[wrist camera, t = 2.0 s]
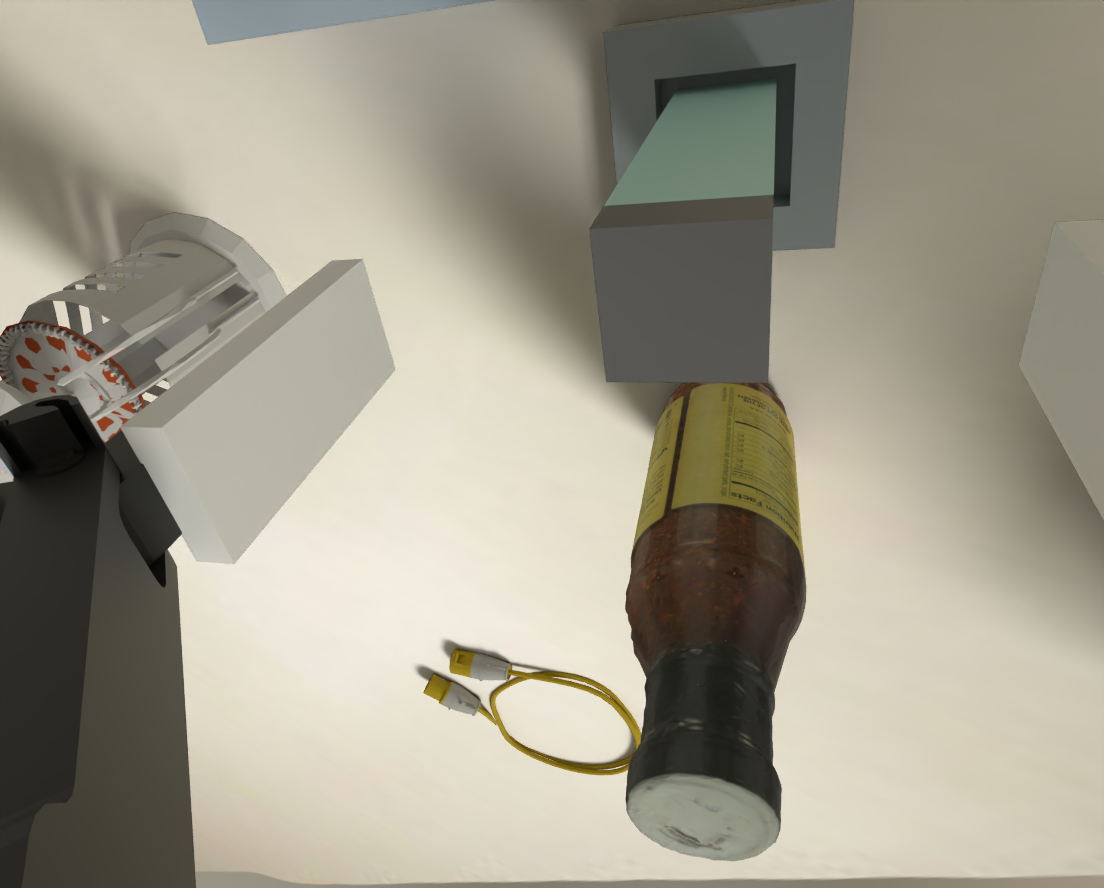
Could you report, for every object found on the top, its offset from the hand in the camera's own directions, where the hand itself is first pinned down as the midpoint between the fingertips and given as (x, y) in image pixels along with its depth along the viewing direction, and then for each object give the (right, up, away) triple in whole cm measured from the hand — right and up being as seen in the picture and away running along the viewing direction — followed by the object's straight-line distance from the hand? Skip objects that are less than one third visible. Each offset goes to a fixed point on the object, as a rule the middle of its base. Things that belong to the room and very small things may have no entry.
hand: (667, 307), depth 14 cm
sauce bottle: (+6, -1, +20) cm, 21 cm away
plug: (+4, +9, +13) cm, 16 cm away
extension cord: (-3, -21, +38) cm, 44 cm away
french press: (-20, +5, +24) cm, 31 cm away
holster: (+4, +9, +13) cm, 16 cm away
